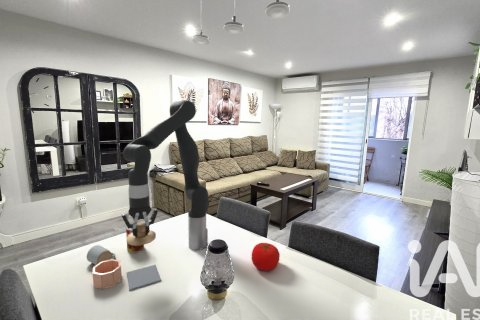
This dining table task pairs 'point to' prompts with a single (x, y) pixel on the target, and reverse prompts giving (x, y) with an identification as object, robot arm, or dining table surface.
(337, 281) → the dining table surface
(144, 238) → the lid
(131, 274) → the mat
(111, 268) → the bowl
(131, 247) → the canned food
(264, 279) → the dining table surface
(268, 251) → the tomato
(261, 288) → the dining table surface
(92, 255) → the ceramic mug
